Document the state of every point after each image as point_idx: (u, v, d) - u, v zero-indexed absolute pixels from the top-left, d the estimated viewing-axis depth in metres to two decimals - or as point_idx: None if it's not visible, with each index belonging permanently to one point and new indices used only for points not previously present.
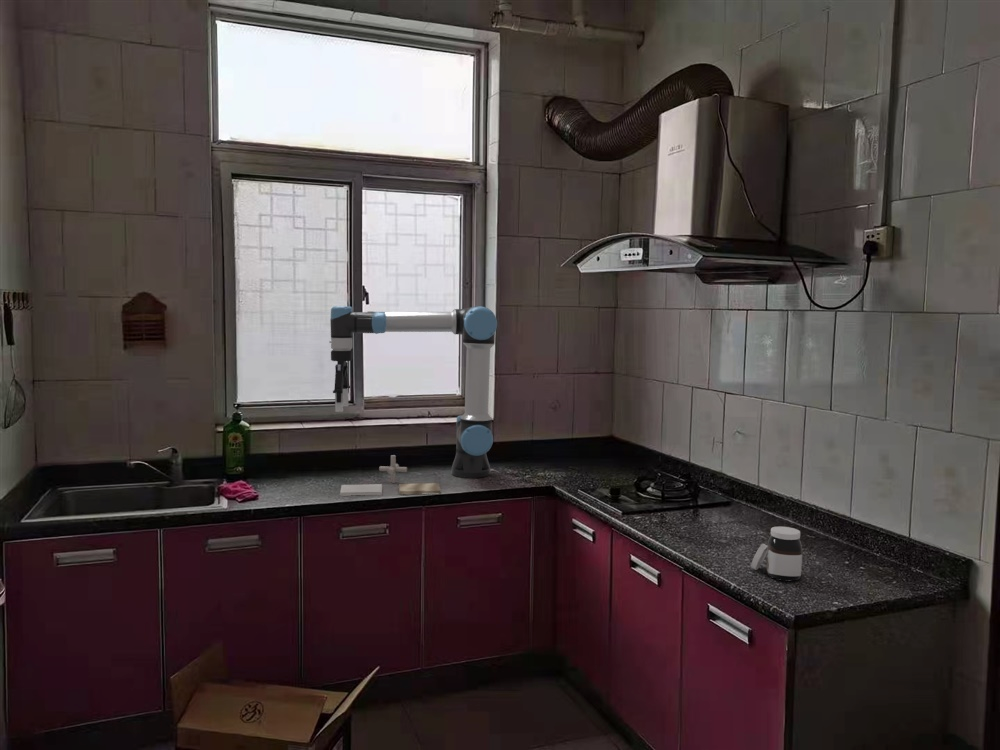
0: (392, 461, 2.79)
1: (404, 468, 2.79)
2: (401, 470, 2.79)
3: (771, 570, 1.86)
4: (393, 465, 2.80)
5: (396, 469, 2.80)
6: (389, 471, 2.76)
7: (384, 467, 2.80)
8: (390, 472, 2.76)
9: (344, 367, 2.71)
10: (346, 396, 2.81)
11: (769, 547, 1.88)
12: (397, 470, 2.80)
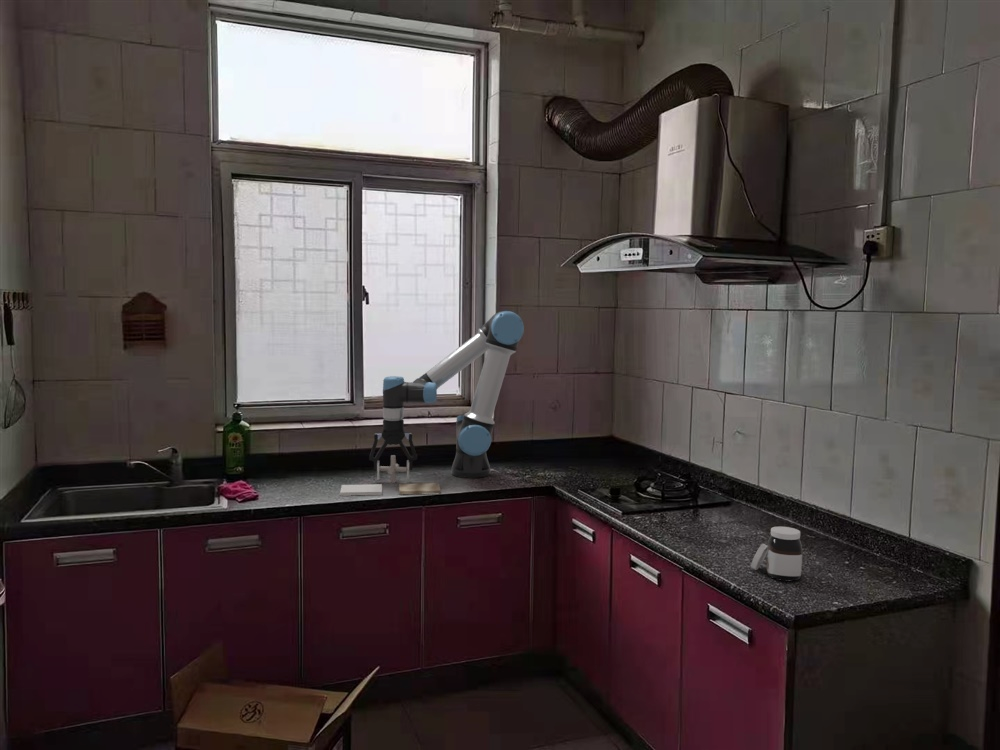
0: (392, 461, 2.79)
1: (404, 468, 2.79)
2: (401, 470, 2.79)
3: (771, 570, 1.86)
4: (393, 465, 2.80)
5: (396, 469, 2.80)
6: (389, 471, 2.76)
7: (384, 467, 2.80)
8: (390, 472, 2.76)
9: (388, 436, 2.78)
10: (407, 469, 2.81)
11: (769, 547, 1.88)
12: (397, 470, 2.80)
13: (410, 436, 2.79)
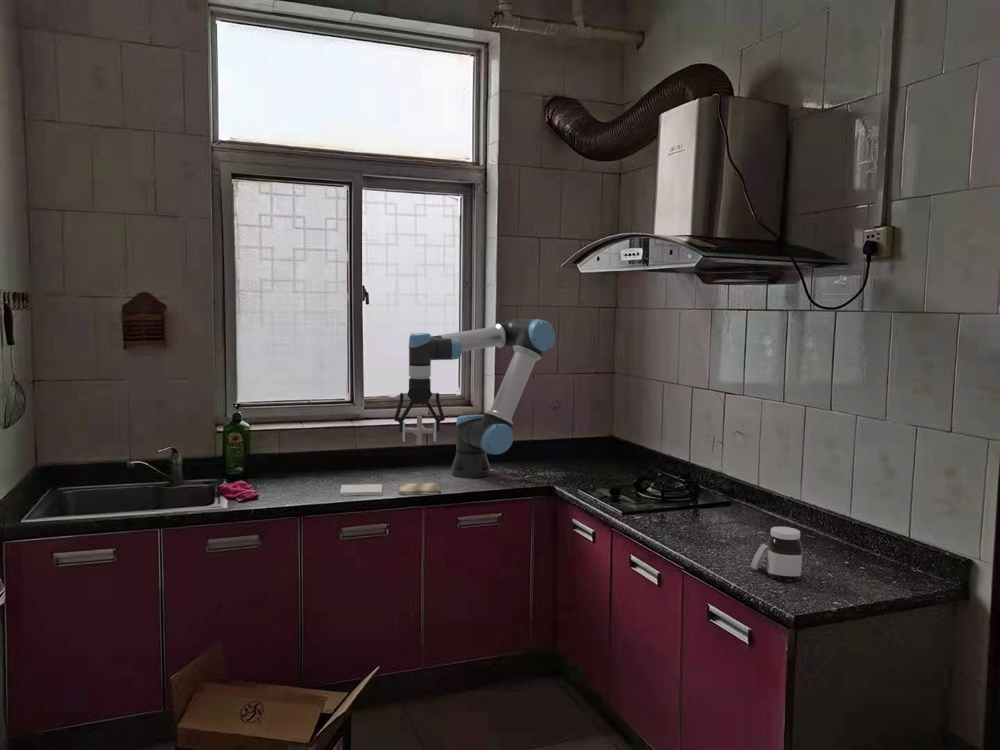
0: (418, 422, 2.67)
1: (431, 429, 2.67)
2: (428, 431, 2.67)
3: (771, 570, 1.86)
4: (419, 426, 2.67)
5: (422, 430, 2.67)
6: (415, 432, 2.63)
7: (410, 428, 2.67)
8: (417, 433, 2.63)
9: (414, 396, 2.65)
10: None
11: (769, 547, 1.88)
12: (423, 431, 2.67)
13: (437, 396, 2.66)
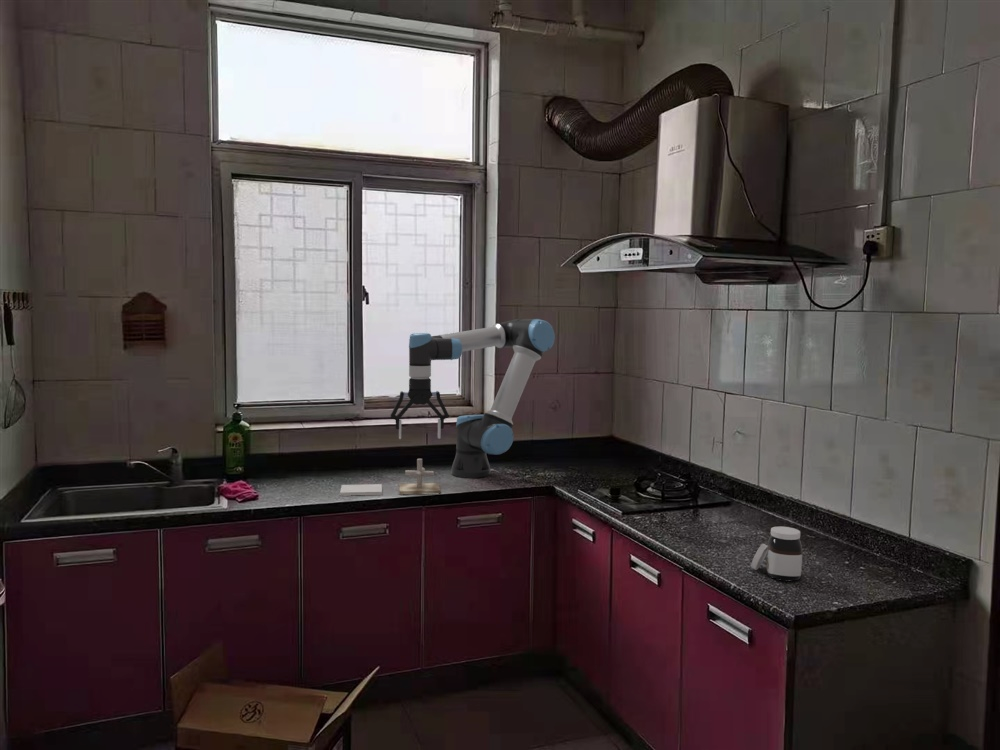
0: (419, 465, 2.68)
1: (431, 472, 2.68)
2: (428, 474, 2.68)
3: (771, 570, 1.86)
4: (420, 469, 2.68)
5: (423, 473, 2.68)
6: (416, 475, 2.64)
7: (410, 471, 2.69)
8: (417, 476, 2.64)
9: (414, 395, 2.65)
10: (438, 427, 2.68)
11: (769, 547, 1.88)
12: (424, 474, 2.68)
13: (438, 394, 2.66)
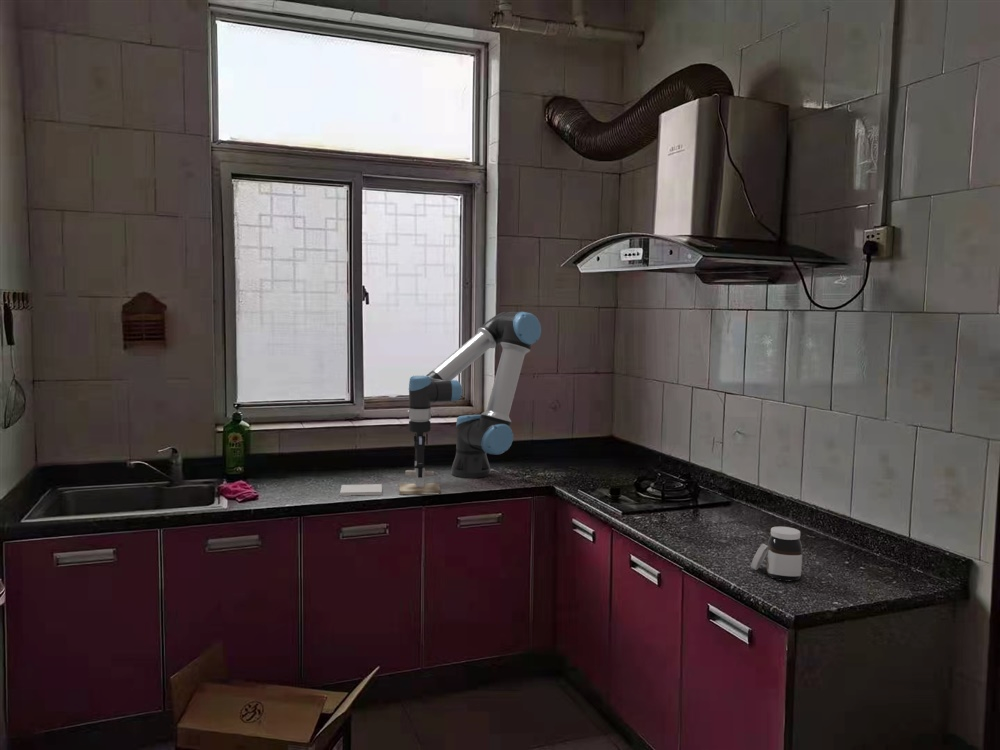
0: None
1: (431, 472, 2.68)
2: (428, 474, 2.68)
3: (771, 570, 1.86)
4: None
5: None
6: None
7: (410, 471, 2.69)
8: None
9: None
10: None
11: (769, 547, 1.88)
12: (424, 474, 2.68)
13: None
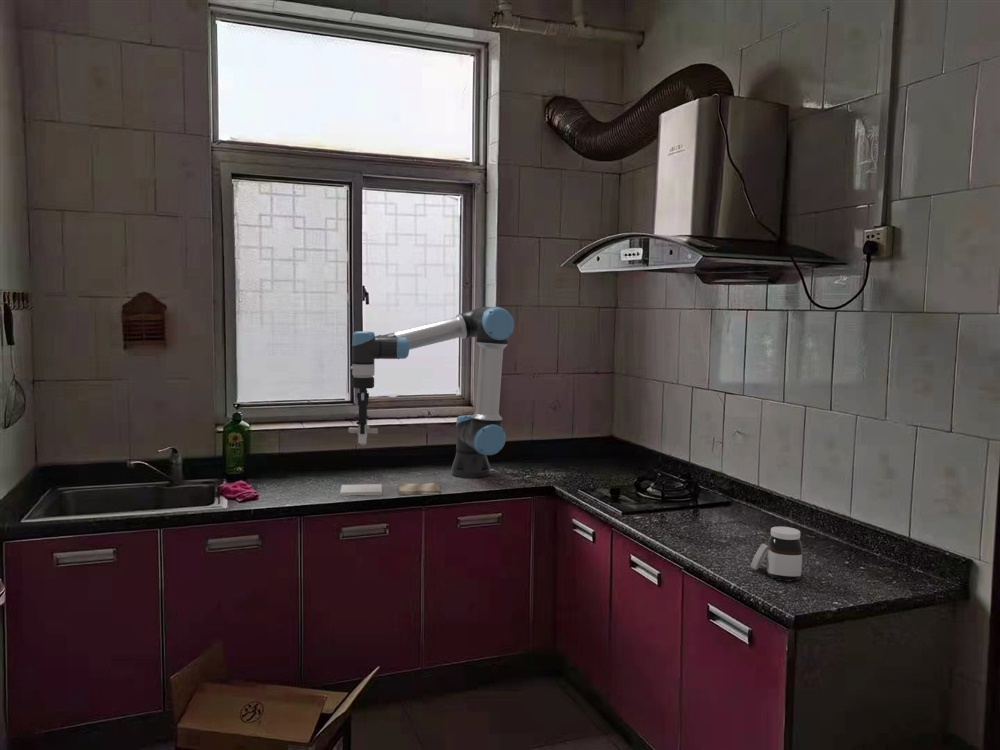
0: None
1: (375, 429, 2.64)
2: (371, 431, 2.64)
3: (771, 570, 1.86)
4: None
5: None
6: None
7: (353, 428, 2.64)
8: None
9: (366, 395, 2.62)
10: None
11: (769, 547, 1.88)
12: (367, 431, 2.64)
13: None
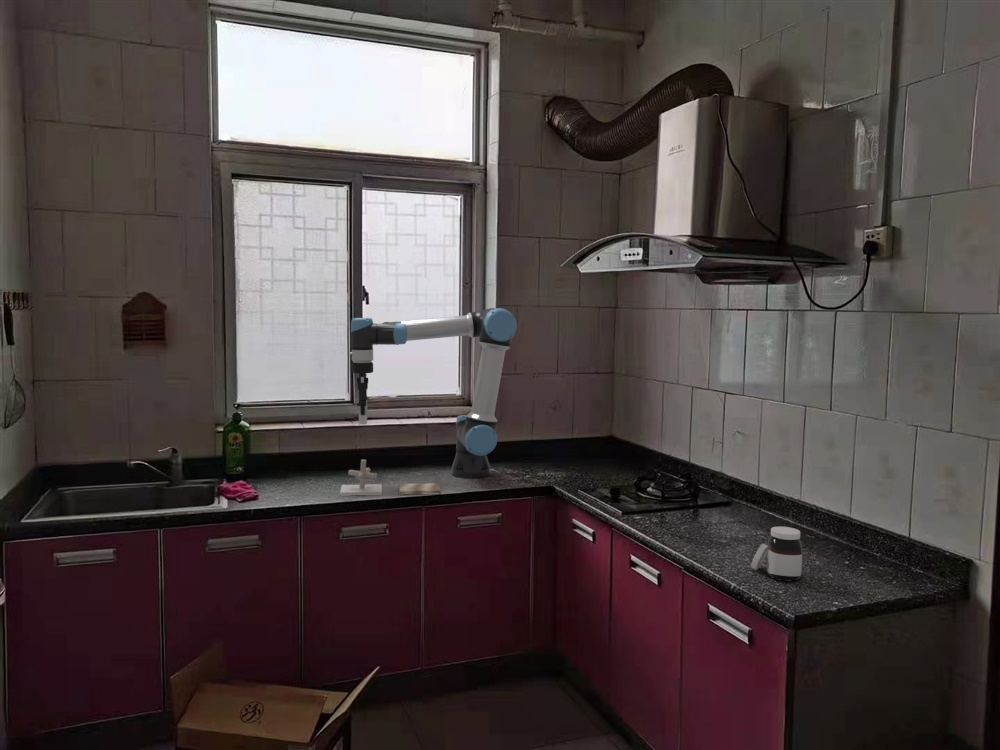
0: (362, 466, 2.64)
1: (374, 474, 2.64)
2: (371, 476, 2.64)
3: (771, 570, 1.86)
4: (363, 470, 2.65)
5: (365, 475, 2.65)
6: (357, 477, 2.61)
7: (353, 471, 2.66)
8: (358, 478, 2.61)
9: (366, 379, 2.70)
10: None
11: (769, 547, 1.88)
12: (366, 476, 2.65)
13: None
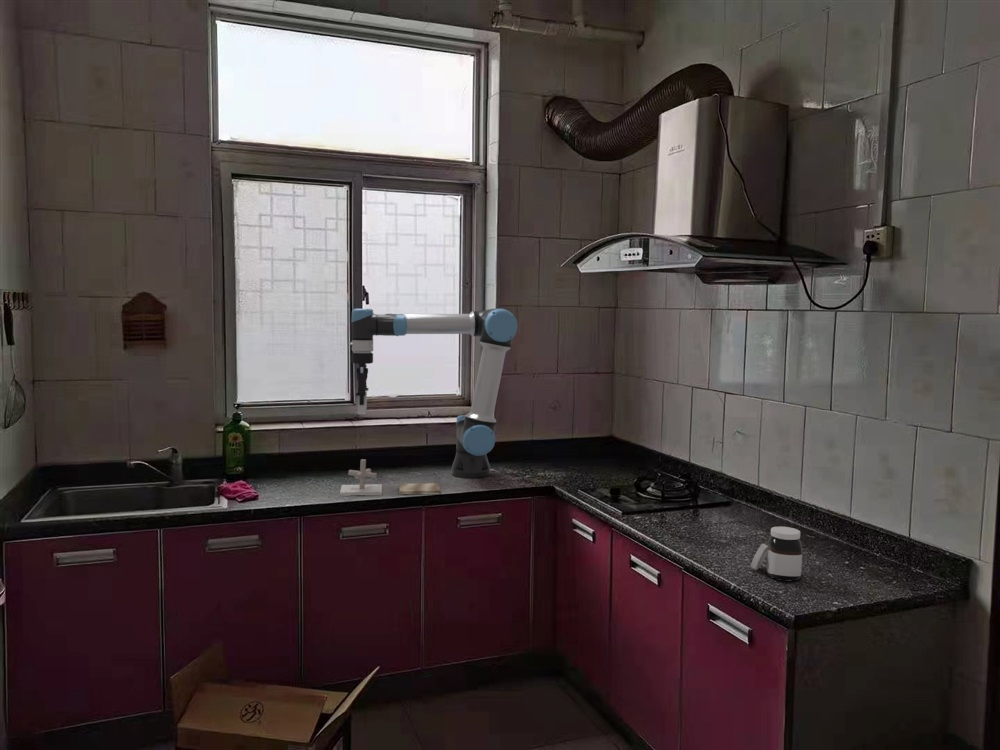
0: (361, 466, 2.65)
1: (373, 474, 2.64)
2: (370, 476, 2.65)
3: (771, 570, 1.86)
4: (362, 470, 2.65)
5: (365, 474, 2.65)
6: (356, 476, 2.61)
7: (353, 471, 2.66)
8: (357, 477, 2.61)
9: (365, 369, 2.71)
10: None
11: (769, 547, 1.88)
12: (366, 475, 2.65)
13: (366, 366, 2.79)
